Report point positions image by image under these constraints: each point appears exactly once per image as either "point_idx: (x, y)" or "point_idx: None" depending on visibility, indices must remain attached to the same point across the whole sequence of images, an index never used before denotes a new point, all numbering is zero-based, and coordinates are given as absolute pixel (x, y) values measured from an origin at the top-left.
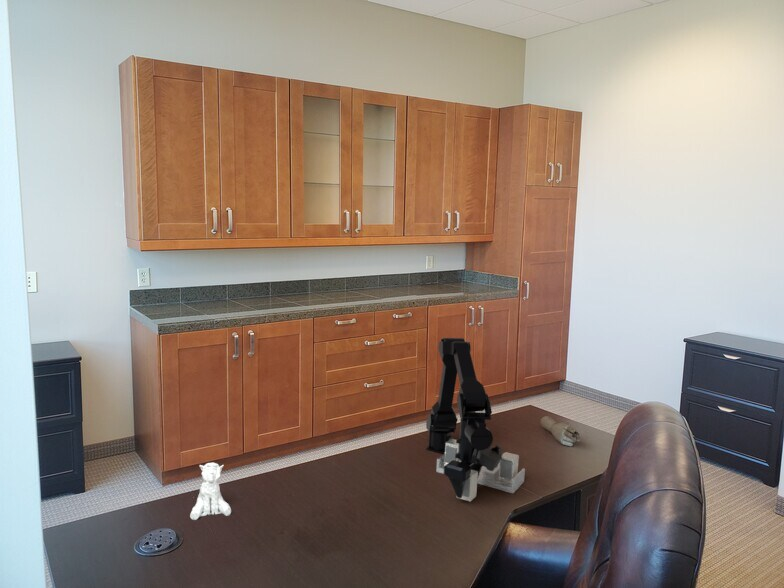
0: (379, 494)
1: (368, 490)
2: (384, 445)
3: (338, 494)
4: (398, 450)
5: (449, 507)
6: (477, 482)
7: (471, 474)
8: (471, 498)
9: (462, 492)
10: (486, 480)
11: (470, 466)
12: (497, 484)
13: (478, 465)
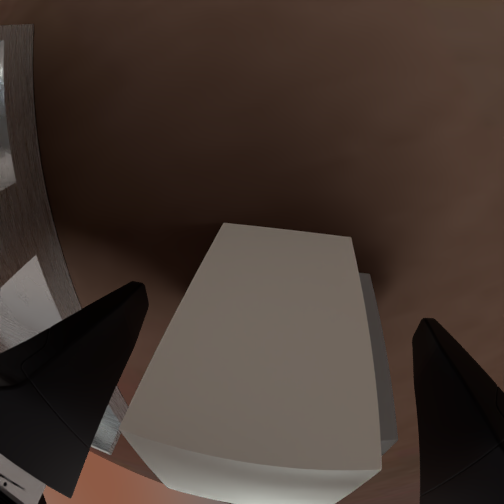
0: (399, 469)
1: (381, 481)
2: (125, 466)
3: (416, 488)
4: (117, 455)
5: (471, 322)
6: (63, 268)
7: (300, 479)
8: (331, 244)
9: (453, 350)
10: (27, 230)
11: (77, 433)
12: (13, 145)
13: (20, 415)
